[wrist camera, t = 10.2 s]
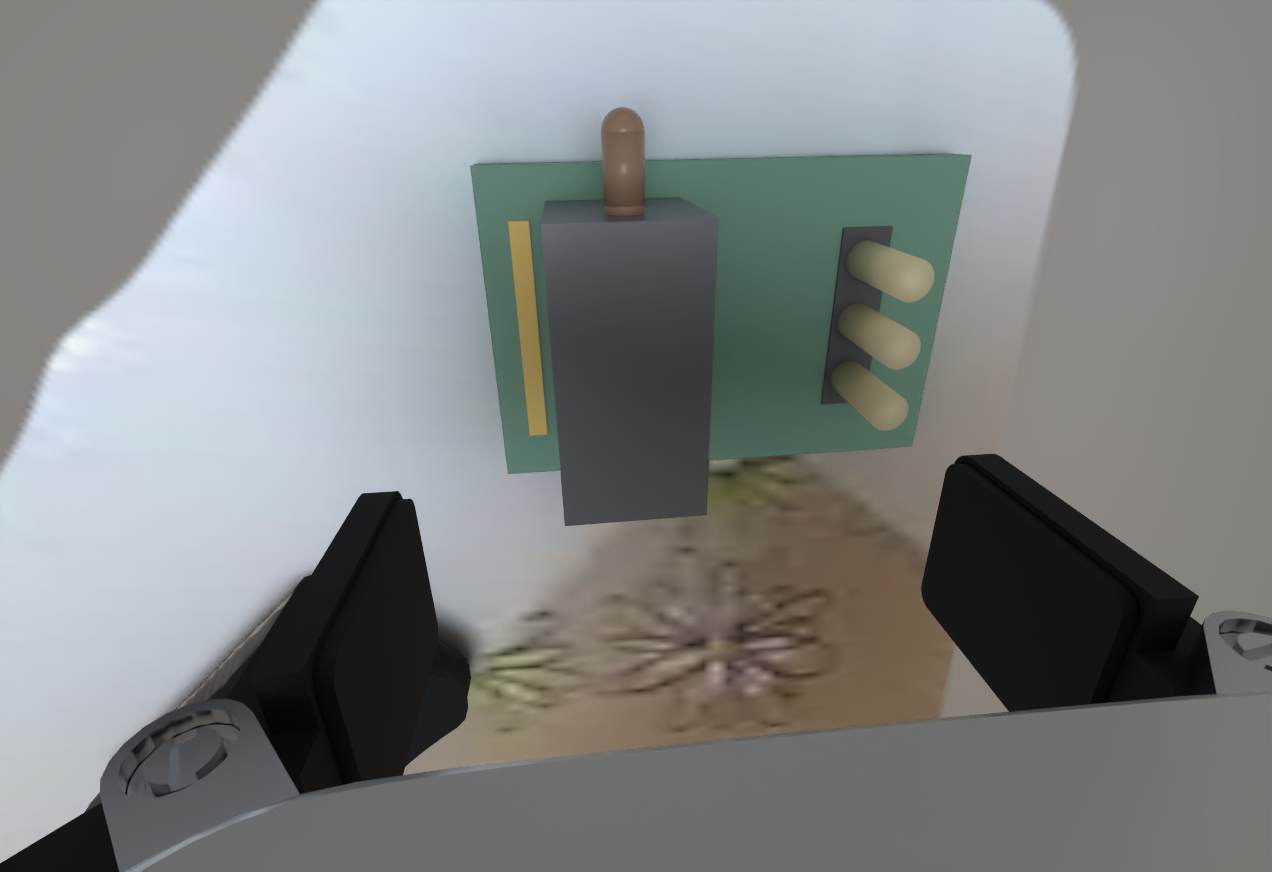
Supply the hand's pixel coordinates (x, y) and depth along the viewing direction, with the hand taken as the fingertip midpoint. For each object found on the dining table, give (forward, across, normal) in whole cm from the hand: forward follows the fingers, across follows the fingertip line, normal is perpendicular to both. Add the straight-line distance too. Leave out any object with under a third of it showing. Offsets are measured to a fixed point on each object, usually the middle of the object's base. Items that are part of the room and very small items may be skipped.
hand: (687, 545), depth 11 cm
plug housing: (+11, 0, -2) cm, 11 cm away
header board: (+12, -3, -1) cm, 12 cm away
